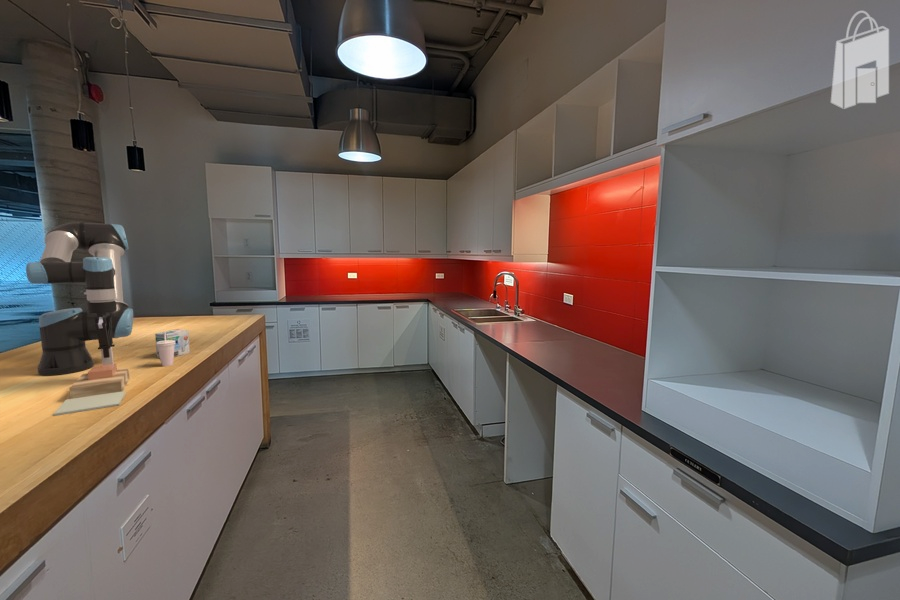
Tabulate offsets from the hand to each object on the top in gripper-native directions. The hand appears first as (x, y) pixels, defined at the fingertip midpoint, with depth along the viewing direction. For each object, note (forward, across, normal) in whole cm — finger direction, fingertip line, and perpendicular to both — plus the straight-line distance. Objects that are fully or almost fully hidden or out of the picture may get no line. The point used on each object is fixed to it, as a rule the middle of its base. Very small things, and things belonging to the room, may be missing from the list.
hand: (108, 365), depth 135 cm
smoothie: (+5, -10, +16) cm, 20 cm away
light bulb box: (+5, -26, +18) cm, 32 cm away
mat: (+5, +26, 0) cm, 26 cm away
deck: (+5, +12, 0) cm, 13 cm away
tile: (+1, +9, 0) cm, 9 cm away
